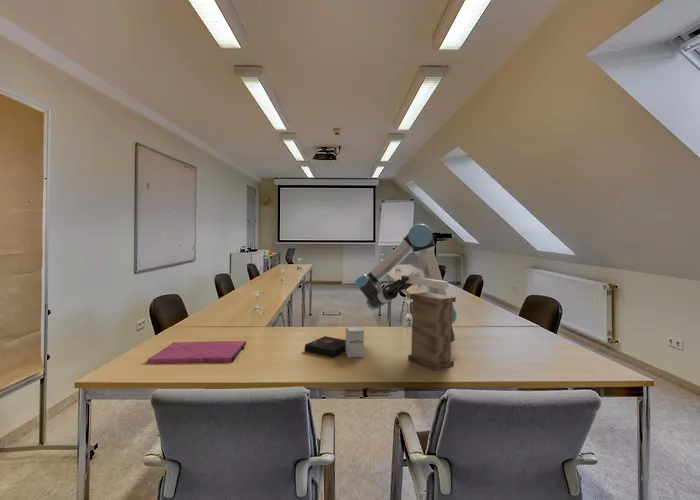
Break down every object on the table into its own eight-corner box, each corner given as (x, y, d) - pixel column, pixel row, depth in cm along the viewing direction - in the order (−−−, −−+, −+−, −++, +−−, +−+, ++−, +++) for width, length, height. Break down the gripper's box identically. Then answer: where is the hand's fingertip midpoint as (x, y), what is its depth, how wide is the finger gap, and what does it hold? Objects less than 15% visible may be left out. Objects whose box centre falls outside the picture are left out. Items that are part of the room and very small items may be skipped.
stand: (426, 354, 167) (428, 292, 166) (453, 365, 154) (455, 297, 153) (408, 359, 160) (409, 294, 159) (434, 370, 147) (436, 299, 146)
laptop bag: (146, 355, 150) (173, 338, 177) (146, 365, 150) (173, 346, 177) (242, 353, 153) (254, 337, 180) (242, 363, 153) (254, 345, 180)
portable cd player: (323, 343, 183) (324, 336, 183) (352, 349, 175) (352, 341, 174) (304, 352, 169) (304, 344, 169) (334, 359, 160) (334, 350, 160)
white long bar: (405, 281, 172) (406, 275, 172) (448, 288, 150) (448, 281, 150) (401, 281, 170) (401, 275, 170) (443, 289, 149) (443, 282, 149)
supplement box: (347, 358, 161) (348, 330, 160) (345, 352, 168) (345, 326, 167) (363, 357, 162) (364, 330, 161) (360, 352, 169) (360, 326, 169)
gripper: (401, 299, 184) (431, 281, 167) (377, 301, 175) (406, 283, 158) (397, 285, 187) (426, 266, 170) (373, 287, 178) (401, 268, 160)
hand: (416, 274), depth 164 cm, fingers closed on white long bar, 3 cm apart
